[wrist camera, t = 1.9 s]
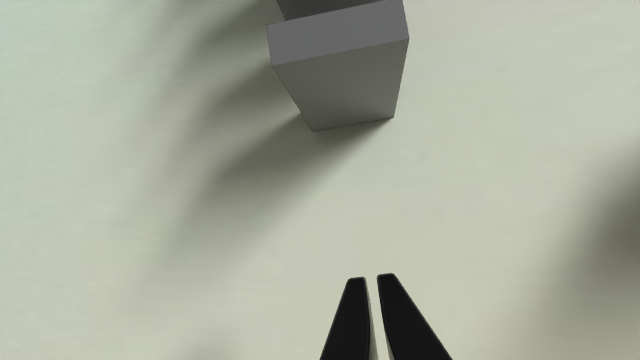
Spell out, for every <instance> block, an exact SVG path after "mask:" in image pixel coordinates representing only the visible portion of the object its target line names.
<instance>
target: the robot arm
mask: <svg viewBox="0 0 640 360" xmlns="http://www.w3.org/2000/svg"><path fill="white" fill-rule="evenodd" d="M377 284H378V291H379V298H380V304H381V311H382V318H383V324H384V330H385V336H386V342H387V347H388V353H389V359H390V360H453V359H452V358H451V357H450V355H449V354H448V352H447V351H446V349H445V348H444V346H443V345H442V343H441V342H440V340H439V339H438V337H437V336H436V334H435V333H434V331H433V330H432V329H431V327H430V326H429V324H428V323H427V321H426V320H425V318H424V317H423V315H422V314H421V312H420V311H419V309H418V308H417V306H416V305H415V303H414V302H413V301H412V299H411V298H410V296H409V295H408V293H407V292H406V290H405V289H404V287H403V286H402V284H401V283H400V281H399V280H398V278H397V277H396V276H395V275H394V274H393V273H387V274H380V275H378V276H377ZM320 360H378V354H377V347H376V340H375V333H374V326H373V318H372V311H371V304H370V298H369V293H368V288H367V283H366V279H365V277H356V278H350V279H348V281H347V283H346V286H345V289H344V292H343V294H342V297H341V300H340V303H339V306H338V309H337V311H336V314H335V317H334V320H333V323H332V326H331V328H330V331H329V334H328V337H327V340H326V343H325V346H324V348H323V351H322V354H321V357H320Z"/></svg>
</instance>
